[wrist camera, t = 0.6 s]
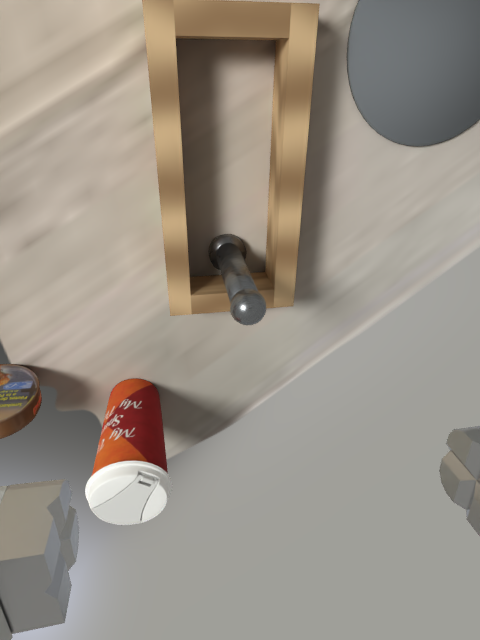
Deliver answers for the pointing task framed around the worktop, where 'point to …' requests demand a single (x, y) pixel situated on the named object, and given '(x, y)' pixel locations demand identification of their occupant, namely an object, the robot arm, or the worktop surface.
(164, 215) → the oak link
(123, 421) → the paper cup
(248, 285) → the grey metal rod
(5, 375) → the tin
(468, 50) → the slate mat
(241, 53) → the worktop surface
